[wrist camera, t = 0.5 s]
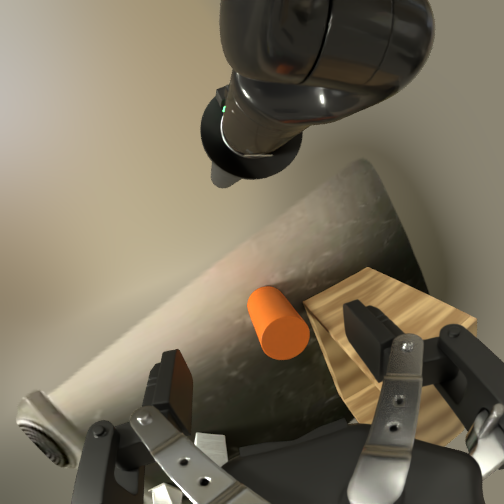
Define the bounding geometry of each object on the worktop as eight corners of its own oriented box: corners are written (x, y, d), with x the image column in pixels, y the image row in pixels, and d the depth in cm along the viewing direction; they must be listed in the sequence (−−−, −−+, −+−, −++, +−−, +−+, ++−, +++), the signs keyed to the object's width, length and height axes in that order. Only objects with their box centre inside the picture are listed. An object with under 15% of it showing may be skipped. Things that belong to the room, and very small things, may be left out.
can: (240, 296, 40) (252, 330, 29) (276, 279, 40) (300, 307, 30) (256, 327, 41) (272, 367, 31) (290, 311, 42) (316, 346, 31)
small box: (219, 457, 46) (223, 496, 36) (191, 454, 45) (192, 494, 35) (225, 434, 45) (231, 476, 34) (196, 431, 44) (196, 473, 33)
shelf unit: (302, 301, 42) (384, 392, 19) (367, 266, 42) (477, 318, 20) (338, 393, 47) (397, 479, 24) (390, 362, 47) (464, 430, 25)
